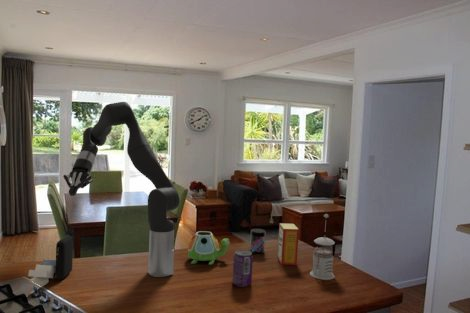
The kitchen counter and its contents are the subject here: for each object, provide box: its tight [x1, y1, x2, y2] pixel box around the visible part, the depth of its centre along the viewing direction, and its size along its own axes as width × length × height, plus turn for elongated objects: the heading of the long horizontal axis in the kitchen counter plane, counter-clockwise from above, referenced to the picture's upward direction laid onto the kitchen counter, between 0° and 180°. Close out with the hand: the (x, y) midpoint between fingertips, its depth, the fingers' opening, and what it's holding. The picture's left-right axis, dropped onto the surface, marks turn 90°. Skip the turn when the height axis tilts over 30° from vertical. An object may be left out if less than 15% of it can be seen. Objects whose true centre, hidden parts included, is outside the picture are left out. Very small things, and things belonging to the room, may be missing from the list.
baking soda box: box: [277, 222, 300, 266], centre depth 165 cm, size 10×6×16 cm
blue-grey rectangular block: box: [41, 258, 56, 266], centre depth 141 cm, size 2×5×12 cm
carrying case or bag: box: [55, 234, 74, 281], centre depth 137 cm, size 11×3×15 cm, turn 1°
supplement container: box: [249, 228, 266, 255], centre depth 175 cm, size 7×7×10 cm
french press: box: [309, 213, 336, 281], centre depth 150 cm, size 10×12×25 cm
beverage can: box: [231, 249, 254, 288], centre depth 139 cm, size 7×7×12 cm
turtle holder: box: [187, 230, 230, 265], centre depth 162 cm, size 12×18×12 cm
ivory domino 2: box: [27, 269, 54, 279], centre depth 130 cm, size 2×5×12 cm
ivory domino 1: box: [34, 264, 56, 274], centre depth 136 cm, size 2×5×12 cm
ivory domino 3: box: [30, 276, 50, 287], centre depth 127 cm, size 2×5×12 cm
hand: (71, 194), depth 158 cm, fingers closed
